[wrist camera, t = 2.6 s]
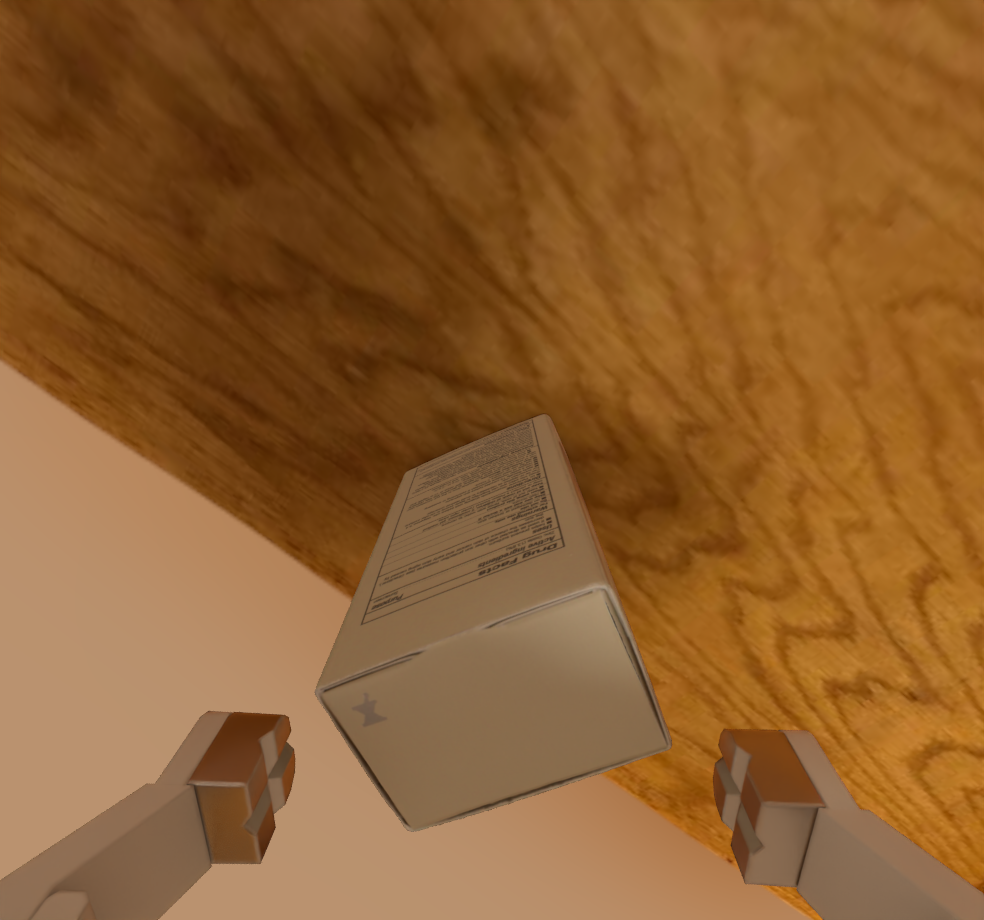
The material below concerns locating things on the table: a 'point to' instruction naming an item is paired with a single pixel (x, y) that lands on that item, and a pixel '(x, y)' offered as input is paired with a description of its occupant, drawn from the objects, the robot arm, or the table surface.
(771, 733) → the robot arm
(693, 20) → the table surface
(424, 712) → the cosmetic box
